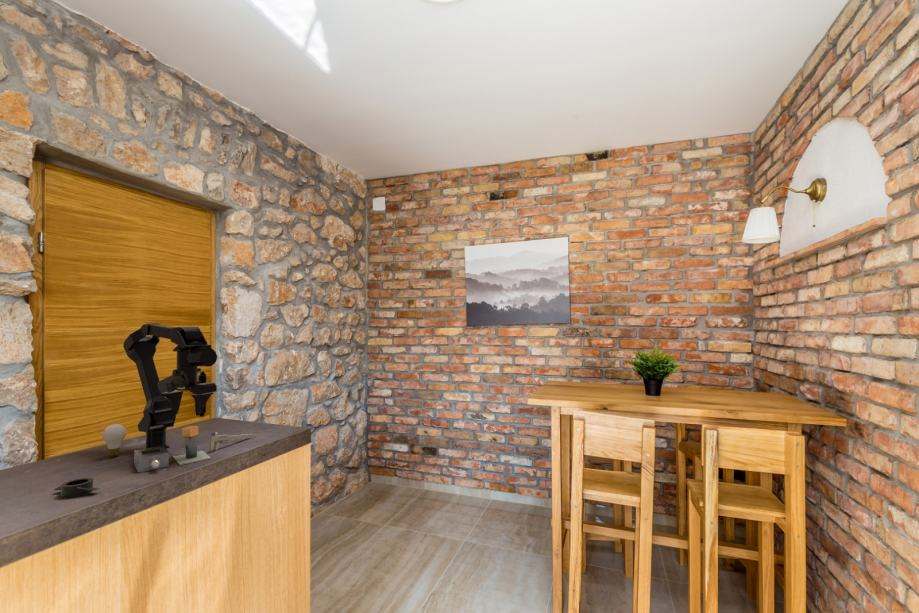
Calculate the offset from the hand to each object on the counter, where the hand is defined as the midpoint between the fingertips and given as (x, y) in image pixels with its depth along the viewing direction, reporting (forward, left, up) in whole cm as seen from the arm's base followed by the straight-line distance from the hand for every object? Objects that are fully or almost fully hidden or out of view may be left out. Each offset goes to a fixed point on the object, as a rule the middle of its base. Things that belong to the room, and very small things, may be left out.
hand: (186, 414), depth 136 cm
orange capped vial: (+8, 0, -12) cm, 14 cm away
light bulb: (-12, -17, -12) cm, 24 cm away
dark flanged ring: (+19, -26, -12) cm, 35 cm away
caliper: (0, +14, -12) cm, 19 cm away
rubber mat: (+8, 0, -12) cm, 14 cm away
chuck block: (+9, -10, -12) cm, 18 cm away
